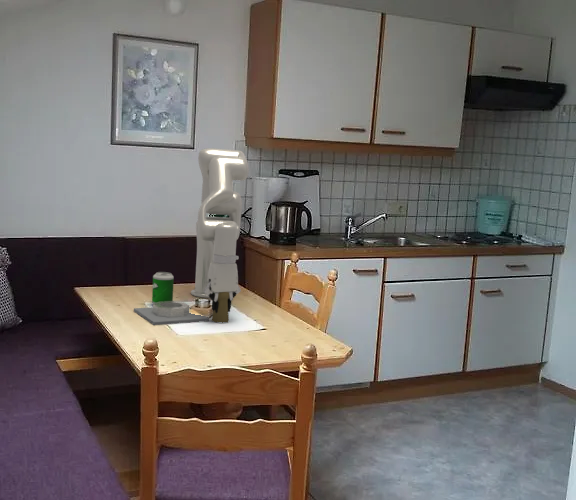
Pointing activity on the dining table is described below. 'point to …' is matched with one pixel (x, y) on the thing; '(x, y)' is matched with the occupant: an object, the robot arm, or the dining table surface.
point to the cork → (222, 308)
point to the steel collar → (171, 309)
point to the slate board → (159, 320)
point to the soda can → (162, 287)
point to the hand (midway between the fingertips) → (221, 310)
